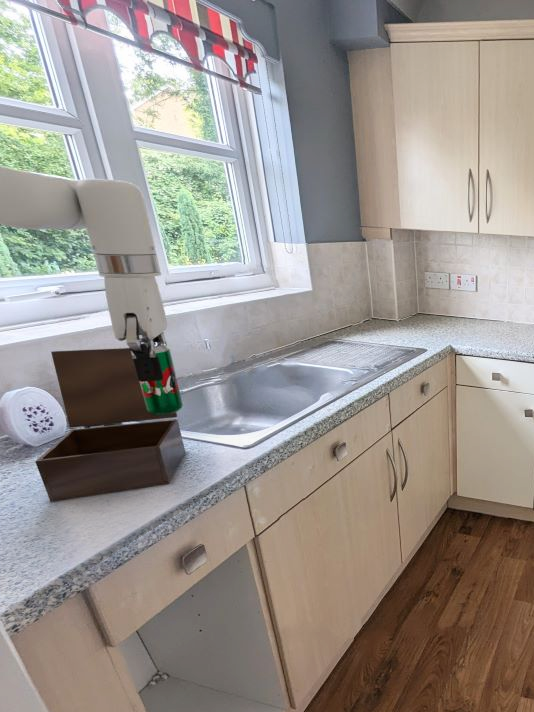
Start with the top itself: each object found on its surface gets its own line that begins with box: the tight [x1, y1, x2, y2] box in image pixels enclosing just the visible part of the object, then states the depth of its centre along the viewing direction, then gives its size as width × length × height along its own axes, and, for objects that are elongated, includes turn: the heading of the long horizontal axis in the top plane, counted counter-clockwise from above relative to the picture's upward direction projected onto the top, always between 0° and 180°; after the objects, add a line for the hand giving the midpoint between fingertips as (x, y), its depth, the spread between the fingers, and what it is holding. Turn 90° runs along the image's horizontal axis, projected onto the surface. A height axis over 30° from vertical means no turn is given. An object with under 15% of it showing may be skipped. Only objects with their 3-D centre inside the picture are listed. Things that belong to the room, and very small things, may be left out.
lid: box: [50, 347, 178, 429], centre depth 91 cm, size 15×17×1 cm
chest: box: [34, 418, 186, 502], centre depth 89 cm, size 14×17×8 cm
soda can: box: [134, 342, 184, 415], centre depth 78 cm, size 5×5×12 cm
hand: (156, 374), depth 78 cm, fingers closed on soda can, 5 cm apart
